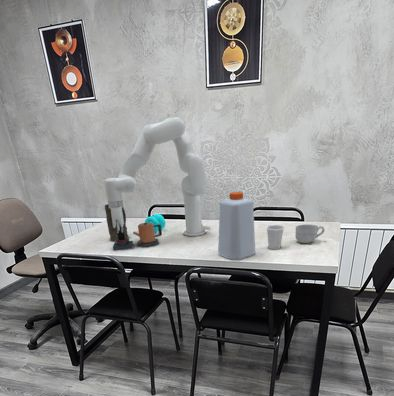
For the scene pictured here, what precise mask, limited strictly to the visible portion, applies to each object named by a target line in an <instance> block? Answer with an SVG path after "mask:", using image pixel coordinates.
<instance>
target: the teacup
mask: <svg viewBox="0 0 394 396" xmlns="http://www.w3.org/2000/svg"><path fill="white" fill-rule="evenodd" d="M320 229H321V232H320V233H318V232H319V230H320ZM324 233H325V227H324V226H322V225H320V226H318V225H316V224H308V223H307V224H298V225H296V226H295V240H296V241H297V242H298V243H300V244H310V243H313V242H314V241H315V240H317V238H319V237H320V236H322V235H323V234H324Z"/></svg>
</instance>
